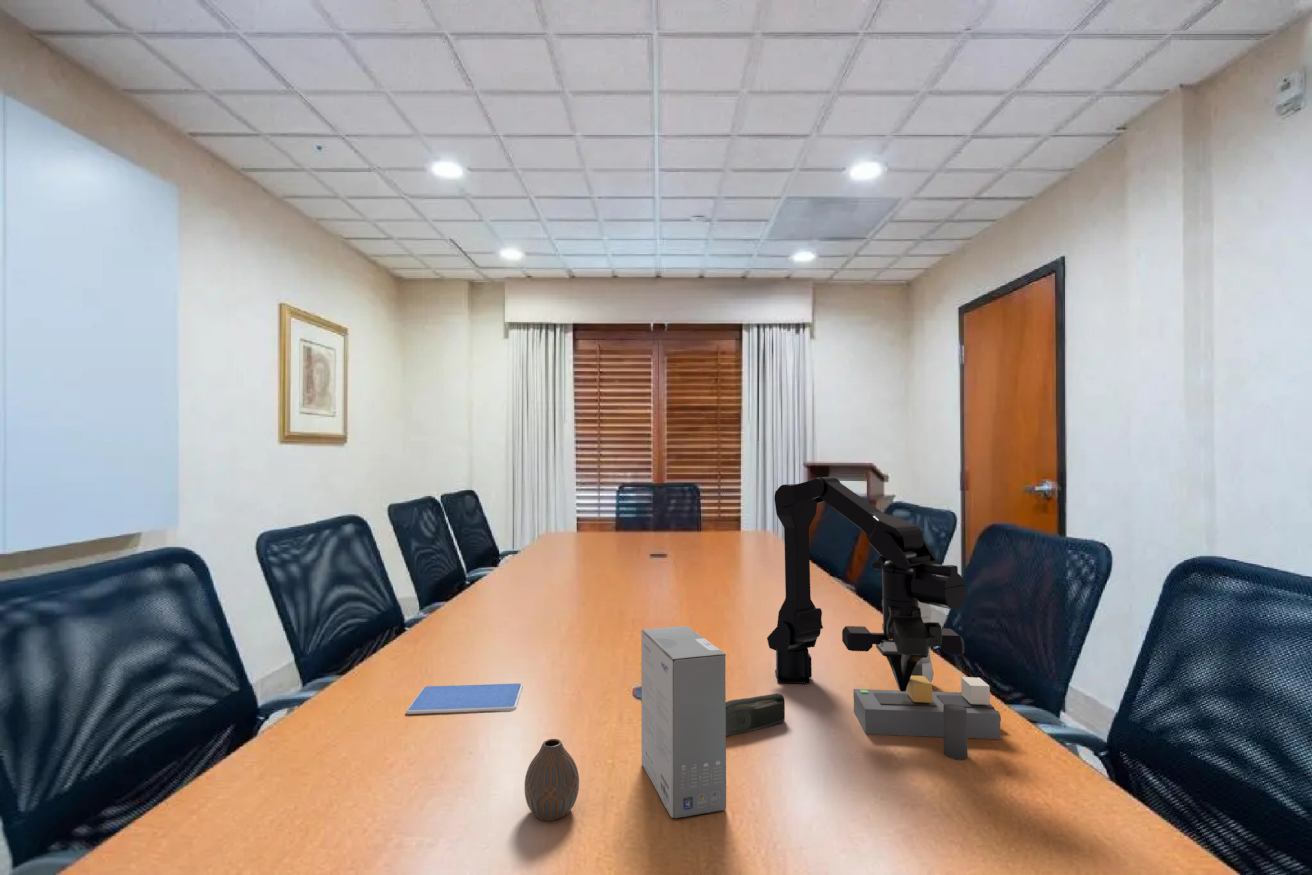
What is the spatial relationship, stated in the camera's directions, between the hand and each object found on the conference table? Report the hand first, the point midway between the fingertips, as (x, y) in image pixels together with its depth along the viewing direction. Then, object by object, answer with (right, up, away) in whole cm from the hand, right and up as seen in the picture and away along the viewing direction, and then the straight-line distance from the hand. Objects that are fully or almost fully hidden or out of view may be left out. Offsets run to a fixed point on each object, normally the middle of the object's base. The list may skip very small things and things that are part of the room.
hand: (902, 690), depth 105 cm
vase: (-55, -5, -26) cm, 61 cm away
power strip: (+3, -6, 0) cm, 7 cm away
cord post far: (+6, -6, +10) cm, 13 cm away
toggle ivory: (+12, -1, -1) cm, 12 cm away
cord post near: (+4, -5, -11) cm, 13 cm away
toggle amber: (+3, -1, 0) cm, 3 cm away
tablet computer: (-77, -7, +11) cm, 78 cm away
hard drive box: (-38, -5, -20) cm, 43 cm away
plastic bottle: (+10, -6, +18) cm, 22 cm away
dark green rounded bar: (-26, -6, -2) cm, 27 cm away
